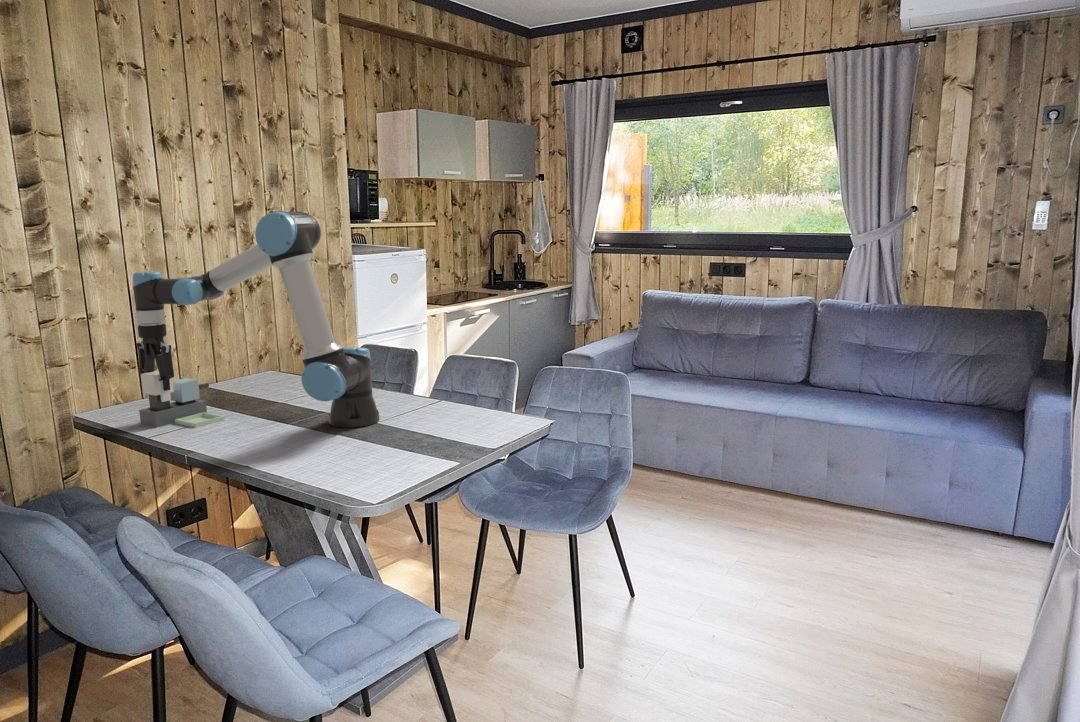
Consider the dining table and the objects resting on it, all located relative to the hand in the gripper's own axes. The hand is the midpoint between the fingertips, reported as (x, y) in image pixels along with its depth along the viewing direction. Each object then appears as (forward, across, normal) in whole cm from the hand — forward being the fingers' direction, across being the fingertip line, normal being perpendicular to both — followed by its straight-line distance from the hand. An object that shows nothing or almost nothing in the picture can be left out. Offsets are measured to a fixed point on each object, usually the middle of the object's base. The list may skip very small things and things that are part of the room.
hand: (159, 399), depth 229 cm
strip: (+8, 0, -6) cm, 10 cm away
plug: (+3, 0, 0) cm, 3 cm away
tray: (+8, -10, -6) cm, 14 cm away
